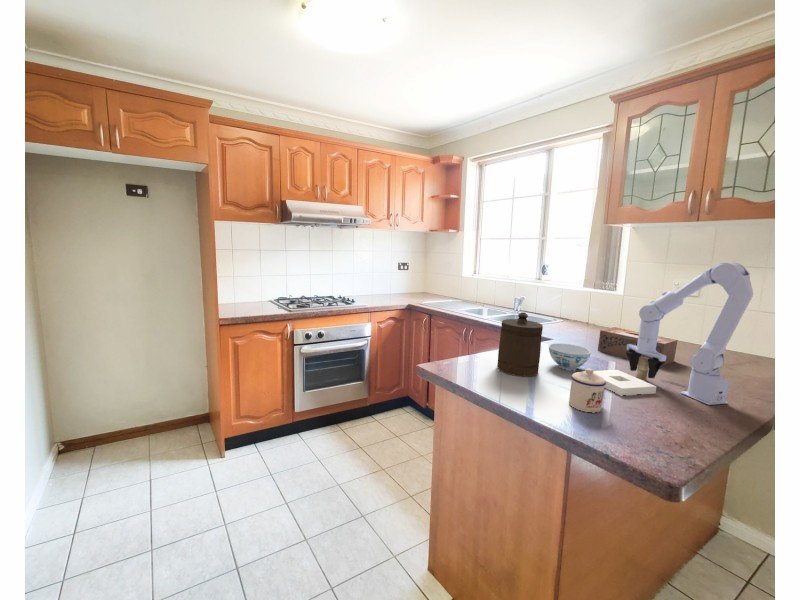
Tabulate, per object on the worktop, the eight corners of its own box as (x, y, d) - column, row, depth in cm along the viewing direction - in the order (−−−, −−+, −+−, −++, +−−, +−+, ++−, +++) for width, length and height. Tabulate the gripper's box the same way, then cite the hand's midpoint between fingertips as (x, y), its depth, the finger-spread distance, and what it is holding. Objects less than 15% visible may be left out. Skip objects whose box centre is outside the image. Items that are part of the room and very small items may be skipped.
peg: (648, 380, 136) (651, 359, 135) (641, 381, 135) (644, 359, 134) (641, 377, 139) (644, 356, 138) (634, 377, 138) (637, 357, 137)
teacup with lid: (589, 416, 104) (595, 376, 103) (561, 403, 112) (565, 366, 110) (614, 408, 110) (619, 370, 109) (585, 396, 118) (590, 361, 116)
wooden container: (529, 364, 148) (535, 309, 145) (544, 377, 134) (551, 317, 130) (492, 362, 148) (497, 308, 144) (503, 376, 133) (509, 316, 130)
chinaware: (597, 372, 142) (600, 353, 141) (567, 376, 137) (569, 355, 135) (566, 360, 156) (569, 342, 155) (538, 363, 150) (540, 344, 149)
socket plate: (655, 393, 124) (656, 386, 123) (620, 395, 120) (621, 388, 120) (616, 376, 139) (617, 369, 139) (585, 377, 136) (585, 371, 135)
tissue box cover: (597, 351, 174) (600, 330, 172) (612, 347, 182) (614, 327, 181) (660, 367, 153) (664, 344, 152) (673, 362, 162) (677, 339, 160)
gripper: (675, 343, 129) (669, 380, 131) (639, 332, 142) (634, 367, 145) (659, 343, 127) (653, 381, 129) (624, 333, 141) (619, 367, 143)
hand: (642, 374), depth 137 cm, fingers open, 7 cm apart
